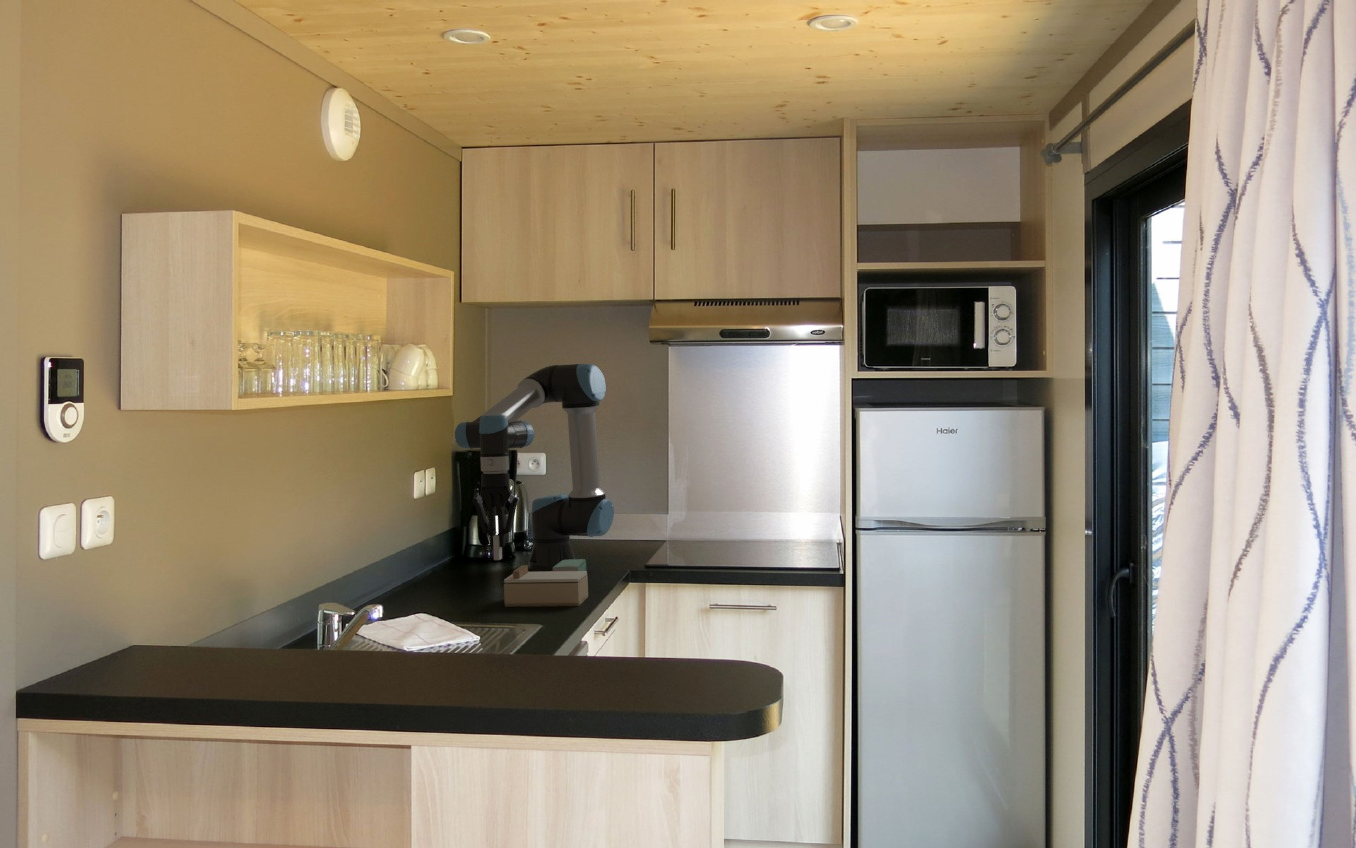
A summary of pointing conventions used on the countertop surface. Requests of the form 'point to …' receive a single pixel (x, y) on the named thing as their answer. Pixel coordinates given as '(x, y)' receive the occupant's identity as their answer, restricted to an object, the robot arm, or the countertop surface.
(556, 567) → the box
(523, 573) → the lid
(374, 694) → the countertop surface
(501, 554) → the robot arm
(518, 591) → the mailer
